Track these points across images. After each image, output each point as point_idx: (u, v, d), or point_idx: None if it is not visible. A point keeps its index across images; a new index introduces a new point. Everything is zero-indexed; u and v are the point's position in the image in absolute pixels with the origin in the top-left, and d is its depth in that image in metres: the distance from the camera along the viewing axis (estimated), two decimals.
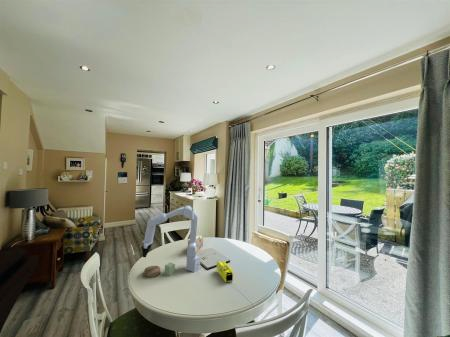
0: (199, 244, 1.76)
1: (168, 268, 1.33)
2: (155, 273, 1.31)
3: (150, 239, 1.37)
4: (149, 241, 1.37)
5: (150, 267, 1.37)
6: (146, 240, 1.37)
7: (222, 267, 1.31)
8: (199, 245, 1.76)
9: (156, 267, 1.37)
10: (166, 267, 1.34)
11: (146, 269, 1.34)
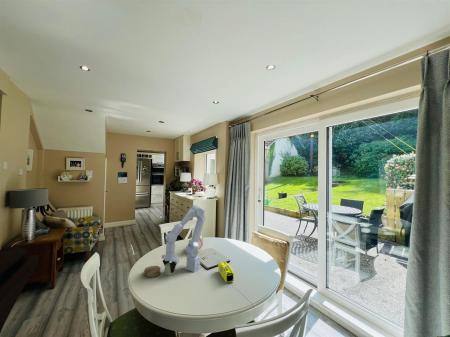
0: (199, 244, 1.76)
1: (168, 268, 1.33)
2: (155, 273, 1.31)
3: (174, 254, 1.36)
4: (174, 256, 1.35)
5: (150, 267, 1.37)
6: (172, 256, 1.33)
7: (223, 267, 1.31)
8: (199, 245, 1.76)
9: (156, 267, 1.37)
10: (166, 267, 1.34)
11: (146, 269, 1.34)
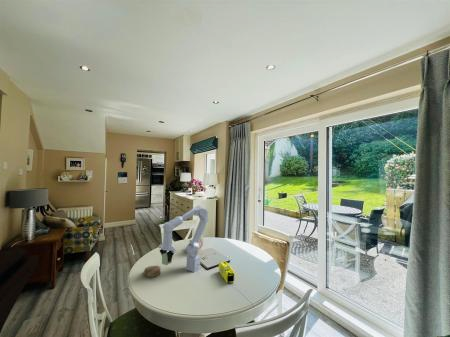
0: (200, 244, 1.76)
1: (165, 257, 1.33)
2: (155, 273, 1.31)
3: (171, 243, 1.35)
4: (171, 245, 1.35)
5: (150, 267, 1.37)
6: (169, 246, 1.33)
7: (224, 268, 1.30)
8: (200, 245, 1.77)
9: (156, 267, 1.37)
10: (163, 256, 1.34)
11: (146, 269, 1.34)
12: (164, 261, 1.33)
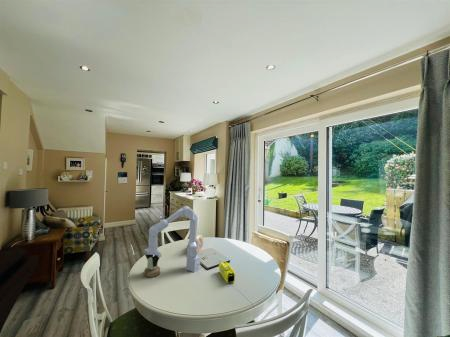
0: (200, 244, 1.77)
1: (150, 262, 1.32)
2: (155, 273, 1.31)
3: (157, 247, 1.34)
4: (156, 250, 1.34)
5: None
6: (154, 250, 1.32)
7: (224, 268, 1.30)
8: (200, 245, 1.77)
9: (156, 267, 1.37)
10: (148, 261, 1.33)
11: (146, 269, 1.34)
12: (149, 265, 1.32)
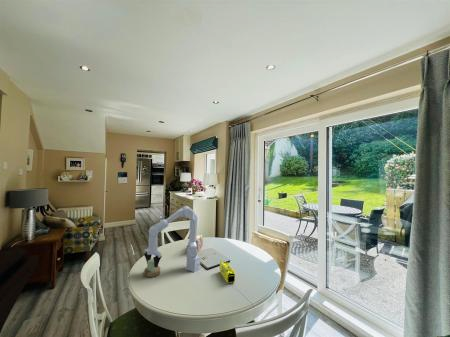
0: (200, 243, 1.77)
1: (150, 264, 1.32)
2: (155, 273, 1.31)
3: (157, 247, 1.34)
4: (156, 250, 1.34)
5: None
6: (154, 250, 1.32)
7: (224, 268, 1.30)
8: (200, 244, 1.77)
9: None
10: (148, 263, 1.33)
11: (146, 269, 1.34)
12: (149, 267, 1.32)
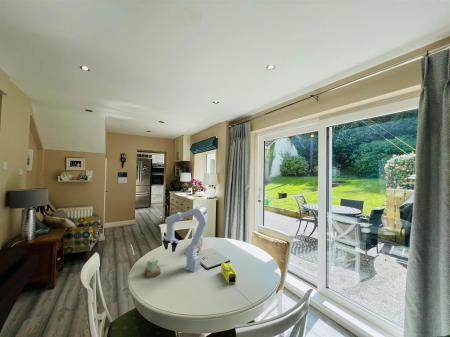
0: None
1: (150, 264, 1.32)
2: (155, 273, 1.31)
3: None
4: (173, 237, 1.49)
5: None
6: (171, 237, 1.48)
7: (225, 268, 1.30)
8: None
9: None
10: (148, 263, 1.33)
11: (146, 269, 1.34)
12: (149, 267, 1.32)
